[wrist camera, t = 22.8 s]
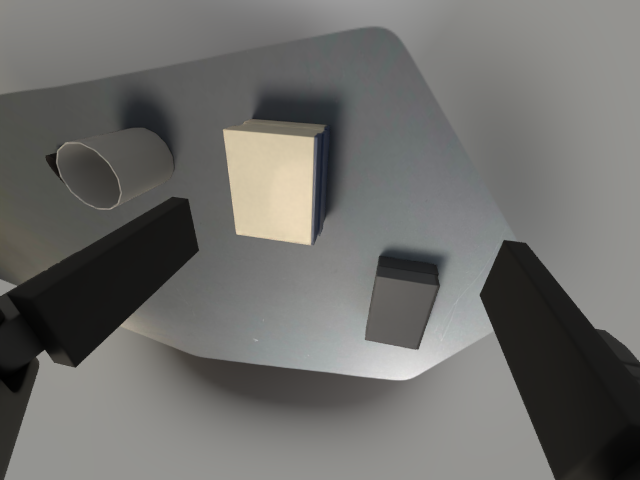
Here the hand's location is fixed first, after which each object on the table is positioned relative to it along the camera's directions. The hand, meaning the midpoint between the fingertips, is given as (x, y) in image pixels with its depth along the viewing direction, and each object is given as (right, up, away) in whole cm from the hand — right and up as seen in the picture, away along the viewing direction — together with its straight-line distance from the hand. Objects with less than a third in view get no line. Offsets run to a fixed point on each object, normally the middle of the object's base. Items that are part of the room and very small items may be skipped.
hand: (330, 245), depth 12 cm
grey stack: (+12, -8, +34) cm, 37 cm away
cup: (-26, +13, +31) cm, 42 cm away
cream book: (-6, +7, +23) cm, 25 cm away
